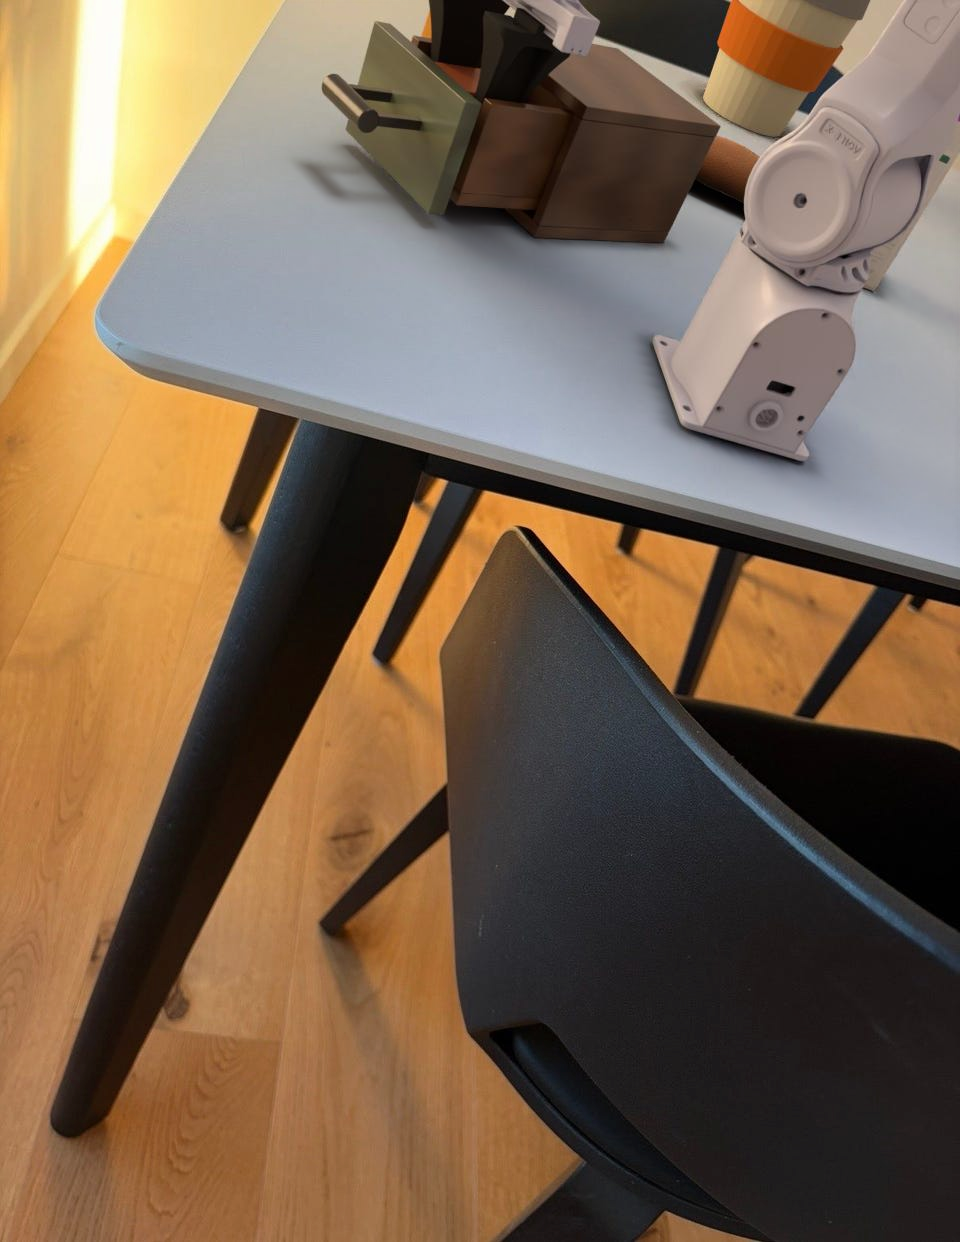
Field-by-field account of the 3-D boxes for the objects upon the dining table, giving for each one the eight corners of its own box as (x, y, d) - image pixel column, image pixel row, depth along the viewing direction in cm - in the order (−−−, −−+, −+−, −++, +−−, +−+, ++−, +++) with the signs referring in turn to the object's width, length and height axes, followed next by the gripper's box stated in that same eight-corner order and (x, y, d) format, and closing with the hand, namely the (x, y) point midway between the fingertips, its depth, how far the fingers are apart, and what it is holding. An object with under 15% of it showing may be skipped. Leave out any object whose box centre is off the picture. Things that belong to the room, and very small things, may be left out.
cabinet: (534, 237, 72) (587, 106, 67) (441, 149, 77) (483, 21, 72) (664, 243, 80) (721, 126, 74) (571, 162, 85) (617, 48, 80)
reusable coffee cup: (735, 136, 108) (817, -29, 98) (664, 77, 114) (735, -82, 105) (819, 152, 115) (903, 0, 105) (747, 96, 122) (820, -51, 112)
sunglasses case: (766, 190, 96) (801, 136, 90) (744, 251, 94) (779, 200, 88) (577, 103, 95) (599, 42, 89) (550, 163, 93) (571, 105, 87)
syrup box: (875, 293, 88) (990, 114, 79) (808, 263, 88) (916, 79, 79) (869, 267, 93) (977, 94, 83) (805, 239, 92) (907, 61, 83)
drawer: (365, 210, 64) (400, 92, 59) (283, 123, 69) (310, 8, 64) (566, 221, 73) (609, 121, 69) (482, 144, 78) (517, 46, 74)
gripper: (416, -188, 62) (352, 60, 70) (566, -86, 55) (474, 175, 64) (512, -156, 66) (440, 73, 75) (661, -58, 59) (563, 182, 68)
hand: (461, 121), depth 69 cm, fingers closed on block, 4 cm apart
